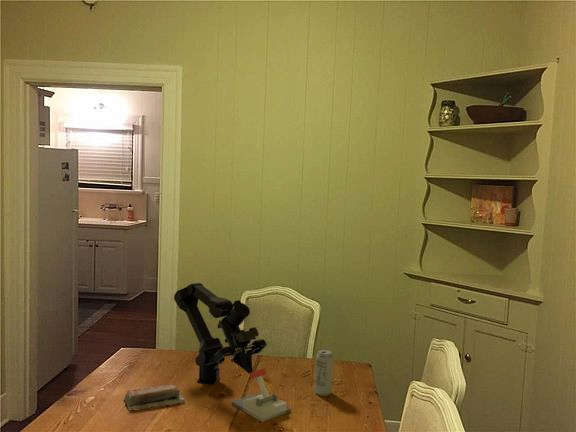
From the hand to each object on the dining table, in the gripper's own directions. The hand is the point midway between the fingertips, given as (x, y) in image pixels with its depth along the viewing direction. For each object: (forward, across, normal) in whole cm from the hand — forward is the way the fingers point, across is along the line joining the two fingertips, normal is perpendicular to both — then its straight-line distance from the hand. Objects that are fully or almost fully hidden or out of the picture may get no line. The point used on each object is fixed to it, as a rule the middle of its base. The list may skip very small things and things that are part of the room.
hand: (251, 373), depth 176 cm
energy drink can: (+13, +26, +2) cm, 30 cm away
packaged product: (-7, -24, +23) cm, 34 cm away
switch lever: (+10, 0, -2) cm, 10 cm away
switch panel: (+11, +1, +4) cm, 12 cm away
